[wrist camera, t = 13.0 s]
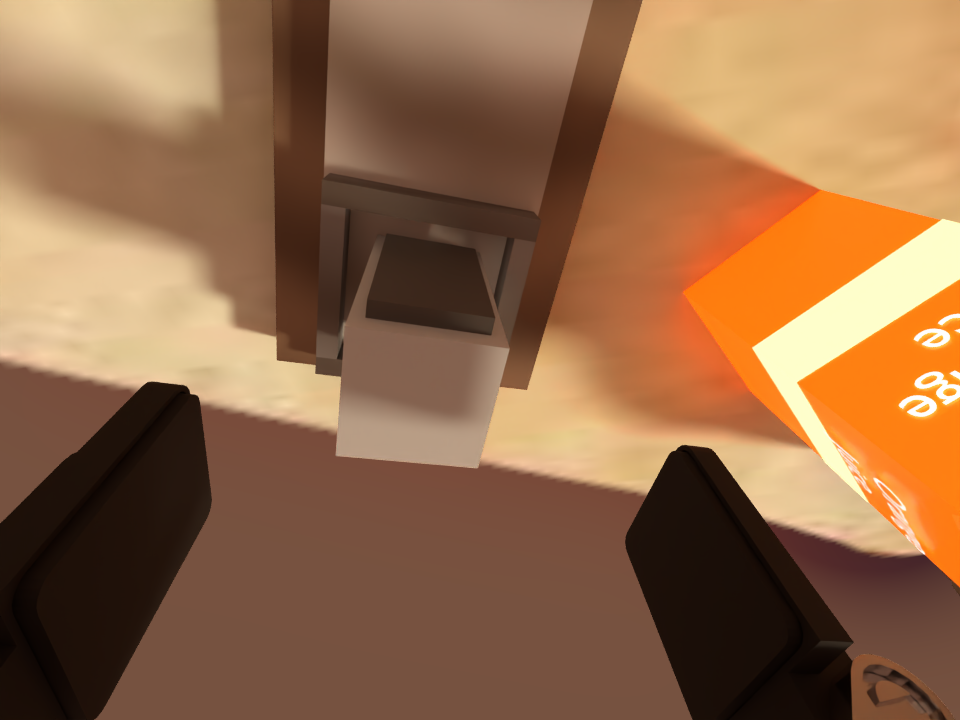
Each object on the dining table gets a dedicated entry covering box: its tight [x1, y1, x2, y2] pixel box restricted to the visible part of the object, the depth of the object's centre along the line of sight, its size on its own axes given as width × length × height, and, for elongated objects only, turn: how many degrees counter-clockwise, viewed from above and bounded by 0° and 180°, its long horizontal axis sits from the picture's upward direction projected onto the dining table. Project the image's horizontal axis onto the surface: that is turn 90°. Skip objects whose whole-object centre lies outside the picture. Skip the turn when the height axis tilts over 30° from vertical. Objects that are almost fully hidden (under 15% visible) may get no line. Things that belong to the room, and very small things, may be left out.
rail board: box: [272, 0, 642, 390], centre depth 14 cm, size 24×12×11 cm, turn 169°
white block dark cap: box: [336, 233, 510, 468], centre depth 15 cm, size 4×4×8 cm
